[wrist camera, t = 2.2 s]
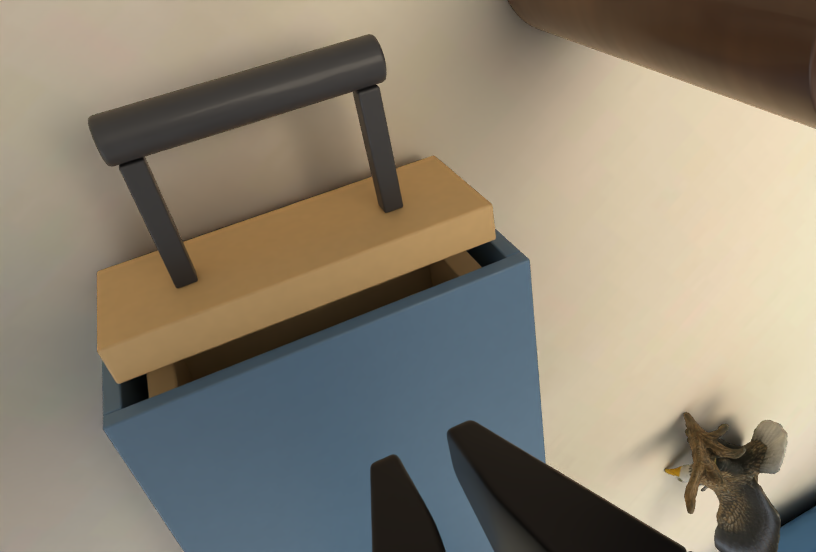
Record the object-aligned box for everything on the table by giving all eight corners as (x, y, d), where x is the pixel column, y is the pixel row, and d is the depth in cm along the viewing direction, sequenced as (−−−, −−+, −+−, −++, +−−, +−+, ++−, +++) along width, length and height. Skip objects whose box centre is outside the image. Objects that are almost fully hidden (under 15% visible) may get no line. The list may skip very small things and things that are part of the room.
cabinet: (100, 309, 20) (102, 428, 16) (448, 185, 23) (530, 259, 19) (243, 558, 28) (269, 682, 24) (488, 445, 31) (552, 539, 27)
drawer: (8, 113, 16) (-13, 172, 13) (409, -1, 18) (473, 26, 15) (241, 533, 26) (261, 622, 23) (478, 426, 29) (525, 494, 26)
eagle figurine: (617, 495, 35) (689, 566, 40) (753, 527, 30) (821, 606, 34) (660, 376, 39) (723, 453, 43) (790, 385, 33) (848, 473, 37)
